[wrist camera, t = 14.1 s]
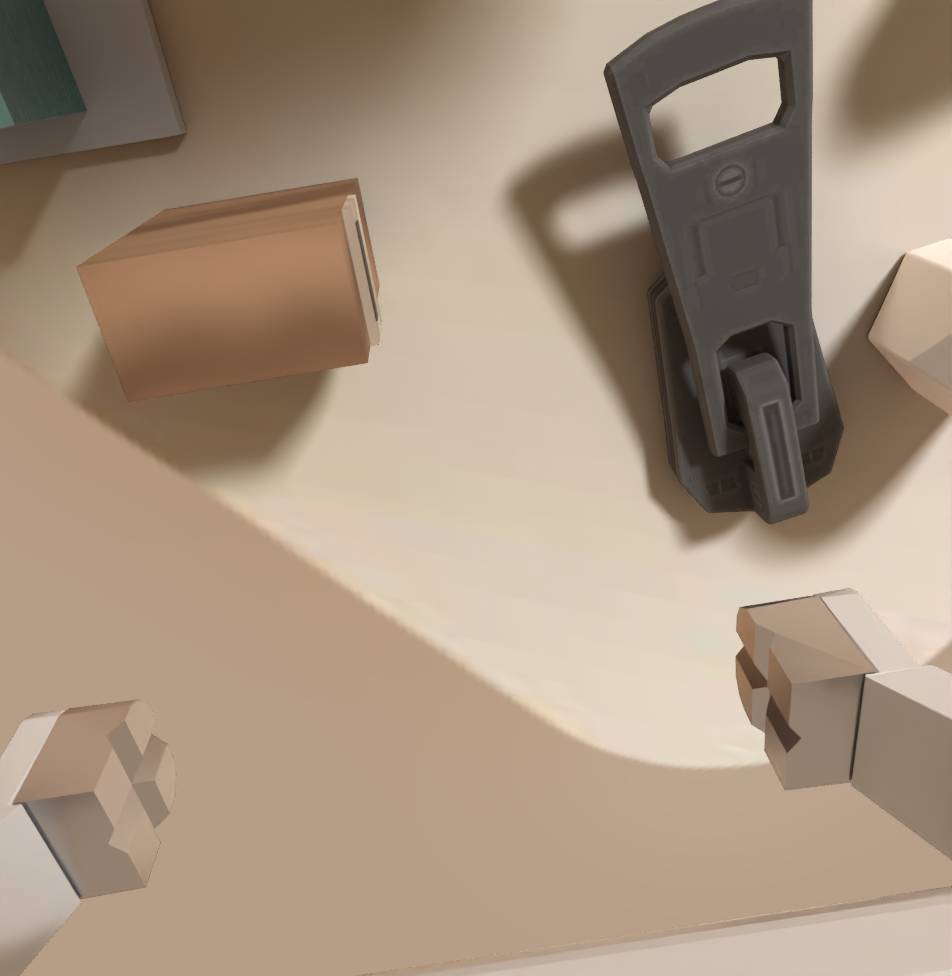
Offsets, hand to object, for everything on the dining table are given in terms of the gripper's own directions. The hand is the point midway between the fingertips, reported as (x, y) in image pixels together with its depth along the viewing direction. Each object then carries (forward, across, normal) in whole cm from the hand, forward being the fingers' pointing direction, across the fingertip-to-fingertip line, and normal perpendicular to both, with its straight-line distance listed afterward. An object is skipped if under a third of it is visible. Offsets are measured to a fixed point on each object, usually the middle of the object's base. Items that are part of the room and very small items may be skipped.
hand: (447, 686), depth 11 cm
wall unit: (+31, +7, 0) cm, 32 cm away
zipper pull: (+31, -14, +5) cm, 35 cm away
